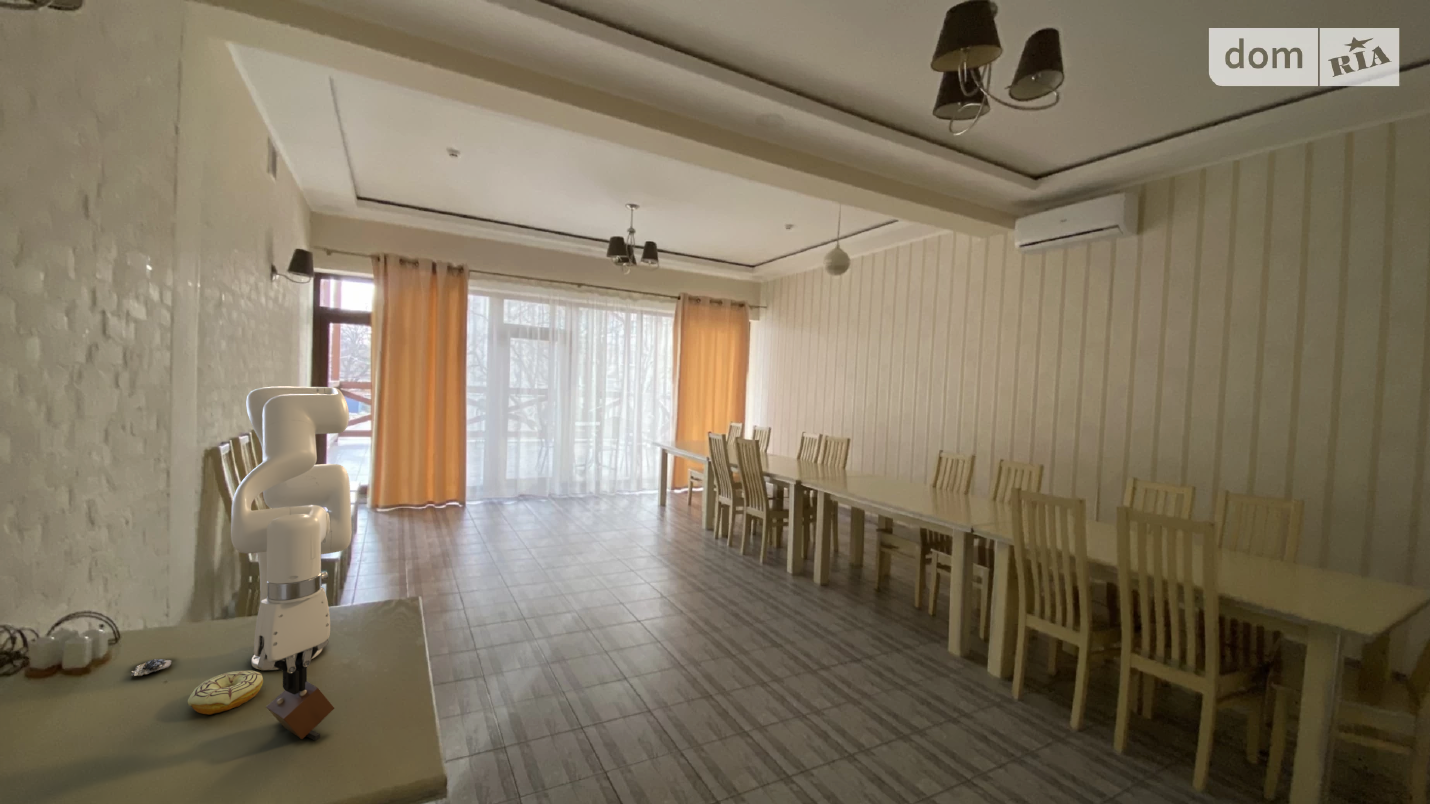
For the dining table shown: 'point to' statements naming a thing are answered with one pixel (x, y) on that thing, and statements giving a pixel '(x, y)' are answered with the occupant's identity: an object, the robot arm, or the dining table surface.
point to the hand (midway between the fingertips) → (294, 690)
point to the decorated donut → (225, 691)
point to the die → (301, 709)
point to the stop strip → (313, 735)
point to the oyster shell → (151, 667)
